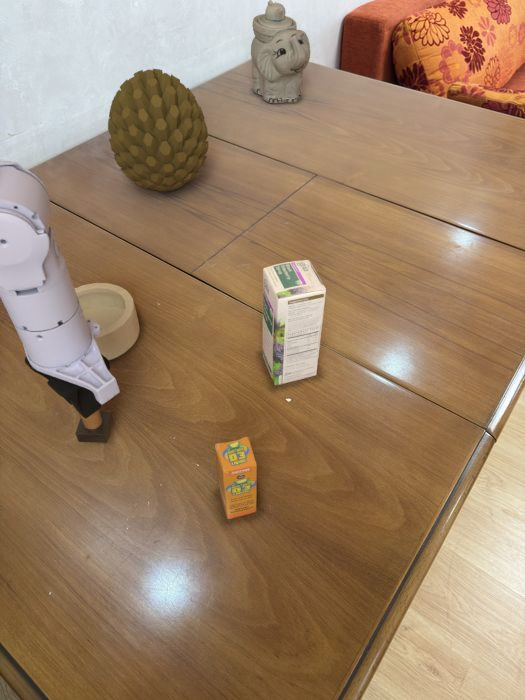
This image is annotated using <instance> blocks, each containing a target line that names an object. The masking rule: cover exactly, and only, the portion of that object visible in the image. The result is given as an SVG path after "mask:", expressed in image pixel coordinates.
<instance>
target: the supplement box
mask: <svg viewBox="0 0 525 700" xmlns="http://www.w3.org/2000/svg"><path fill="white" fill-rule="evenodd" d="M214 449H215V456H216V465H217V476H218V484H219V496H220V498H221V503H222V505H223V509H224V512H225V516H226V518H227V520H231V519H236V518H239V517H242V516H246V515H247V516H248V515H250V514H253V513H257V502H258V501H257V500H258V499H257V498H258V497H257V496H258V495H257V494H258V487H257V485H258V483H257V482H258V481H257V480H258V466H257V465H258V464H257V461H256V458H255V455H254V450H253V447H252V443H251V439H250V438H249V437H248V436H244V437H241V438H240V439H235V440H232V441H227V442H218V443H215V444H214Z"/></svg>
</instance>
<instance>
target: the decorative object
mask: <svg viewBox="0 0 525 700" xmlns="http://www.w3.org/2000/svg"><path fill="white" fill-rule="evenodd" d="M108 113H109V114H108V117H109V118H108V121H107V131H108V133H109V135H110V138H109V139H108V141H109V144H110V150H111V152H113V157H114V160H115V163H116V164H117V166H118V167H119V168H120V170H121V172H122V173H123V174H124V175H125V177H127V178H128V179H129V180H131V182H133V184H135V185H136V186H137V187H140V188H146V189H149V190H153V191H155V192H161V193H162V192H172V191H176V190H177V189H180V188H181V187H183V186H184V185H186V184H187V183H189V182H191V181H192V180H194V179H196V178H197V177H198V176H199V174H200V173H201V172H200V169H201V168H202V167H203V166H205V162H206V159H207V155H206V154H207V152H208V151H209V140H207V139H208V137H209V135H208V127H207V124H206V121H205V119H206V118H205V114H204V112H203V109H202V107H201V106H200V105H199V103H198V101H197V99H196V96H195V95H194V93H193V92H192V90H191V89H190V88H189V87H186V86H185V85H184V84H183V83H181V79H180V78H178V77H176V76H174V74H172V73H170V74H169V73H167V72H163V69H159V68H152V69H146V70H143V69H141V70H138V71H136V72H134V73H133V76H132V77H130V78H129V79H126V80H124V81H123V83H122V84H120V86H119V89H118V90H117V91H116V93H115V94H114V96H113V99H112V101H111V105H110V108H109V112H108Z"/></svg>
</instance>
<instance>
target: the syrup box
mask: <svg viewBox="0 0 525 700" xmlns="http://www.w3.org/2000/svg"><path fill="white" fill-rule="evenodd" d="M326 294H327V288H326V286H325V285H324V284H323V282H322V280H321V278H320V275H319V273H318V272H317V270H316V268H315V267H314V266H313V264H312V262H311V260H310V259H301V260H294V261H293V260H292V261H286V262H280V263H277V264H272V265H268V266H266V267H263V269H262V332H261V333H262V337H261V339H262V357H263V360H264V363H265V366H266V368H267V370H268V373H269V375H270V377H271V380H272V382H273V385H274V386H279V385H285V384H287V383H292V382H296V381H300V380H303V379H308V378H310V377H314V376H317V374H318V366H319V356H320V350H321V349H320V348H321V341H322V340H321V339H322V329H323V322H324V313H325V303H326Z"/></svg>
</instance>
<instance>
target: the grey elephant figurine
mask: <svg viewBox="0 0 525 700" xmlns="http://www.w3.org/2000/svg"><path fill="white" fill-rule="evenodd" d="M297 28H298V27H297V22H296V20H294V19H293V18H292V17H290V16H286V8H285V6H284V5H283V4H282V3H279V2H277V1H274V2H273V0H268V2H267V6H266V8H265V13H262V14H258V15H256V16H254V17H253V19H252V31H253V35H254V37H253V39H252V41H251V45H250V56H251V61H252V69H251V77H252V80H253V81H252V91H253V92H254V93H255V94H257V95H259V96H262V99H263V100H264V101H266V102H267V103H270V104H282V103H297V102H298V101H299V100H300V99H301V87H302V85H303V71H304V70H305V69H306V68H307V67H308V64H309V62H310V59H311V46H310V40H309V36H308V35H307V32H305V31H304V30H302V29H297ZM260 92H261V93H260ZM298 95H300V96H299V97H298ZM296 97H297V98H296ZM283 98H295V99H283ZM268 99H269V100H268ZM278 99H281V100H278Z"/></svg>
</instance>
